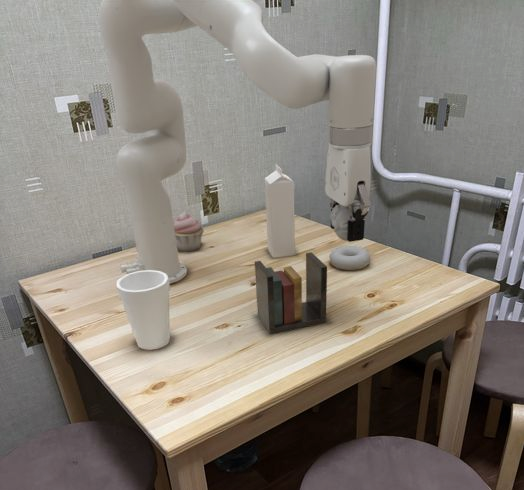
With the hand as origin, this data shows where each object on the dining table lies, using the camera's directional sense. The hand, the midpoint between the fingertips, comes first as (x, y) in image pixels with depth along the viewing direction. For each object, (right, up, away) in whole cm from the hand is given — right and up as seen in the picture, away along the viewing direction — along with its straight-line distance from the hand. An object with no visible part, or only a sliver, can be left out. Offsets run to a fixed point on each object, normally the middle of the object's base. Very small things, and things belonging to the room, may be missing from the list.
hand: (346, 233), depth 101 cm
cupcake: (-36, +6, +43) cm, 57 cm away
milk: (-11, +3, +37) cm, 39 cm away
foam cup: (-38, -21, +1) cm, 43 cm away
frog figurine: (0, -1, +1) cm, 1 cm away
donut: (+5, -1, +29) cm, 29 cm away
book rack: (-10, -16, +6) cm, 20 cm away
